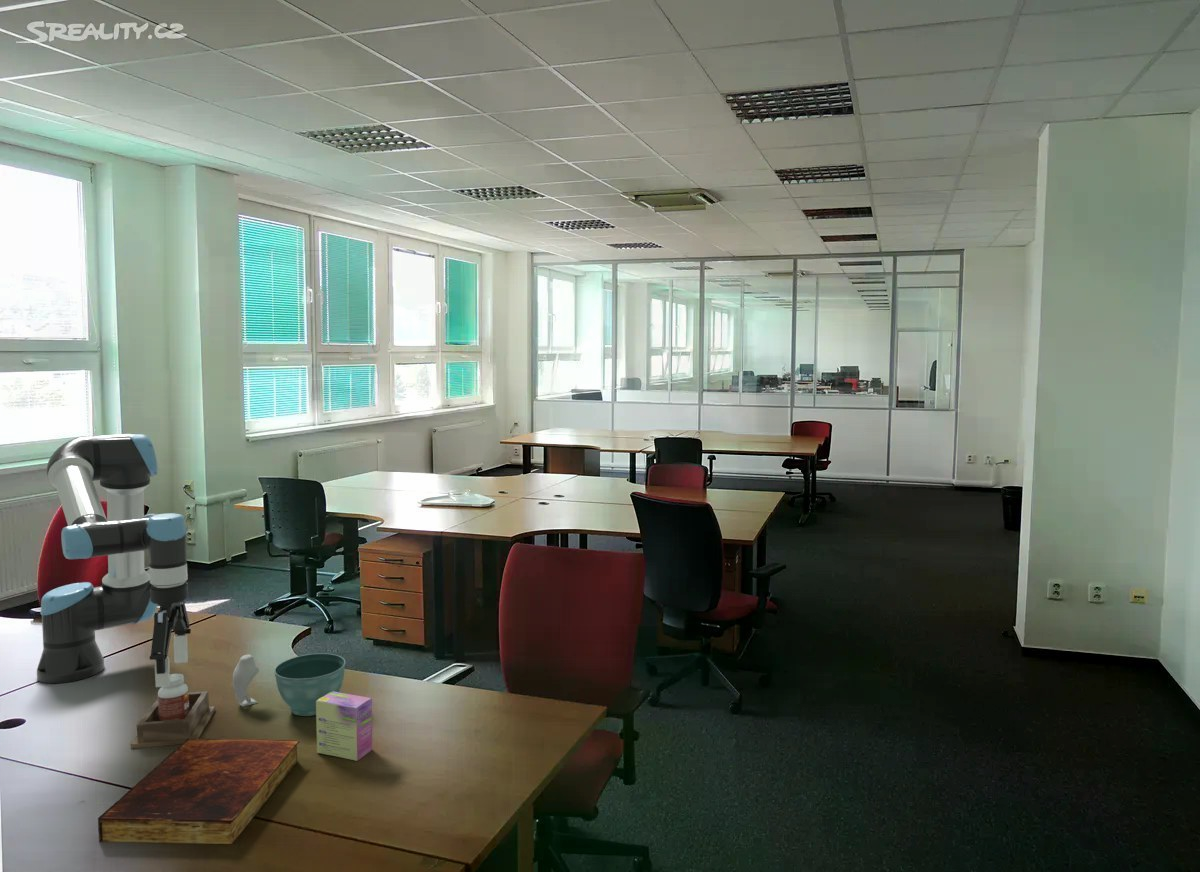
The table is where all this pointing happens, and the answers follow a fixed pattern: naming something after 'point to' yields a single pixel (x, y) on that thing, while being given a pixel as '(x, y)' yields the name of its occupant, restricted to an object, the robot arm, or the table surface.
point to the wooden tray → (174, 724)
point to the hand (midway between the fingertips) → (172, 674)
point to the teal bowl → (309, 680)
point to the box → (344, 725)
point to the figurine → (244, 679)
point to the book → (200, 792)
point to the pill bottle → (173, 699)
